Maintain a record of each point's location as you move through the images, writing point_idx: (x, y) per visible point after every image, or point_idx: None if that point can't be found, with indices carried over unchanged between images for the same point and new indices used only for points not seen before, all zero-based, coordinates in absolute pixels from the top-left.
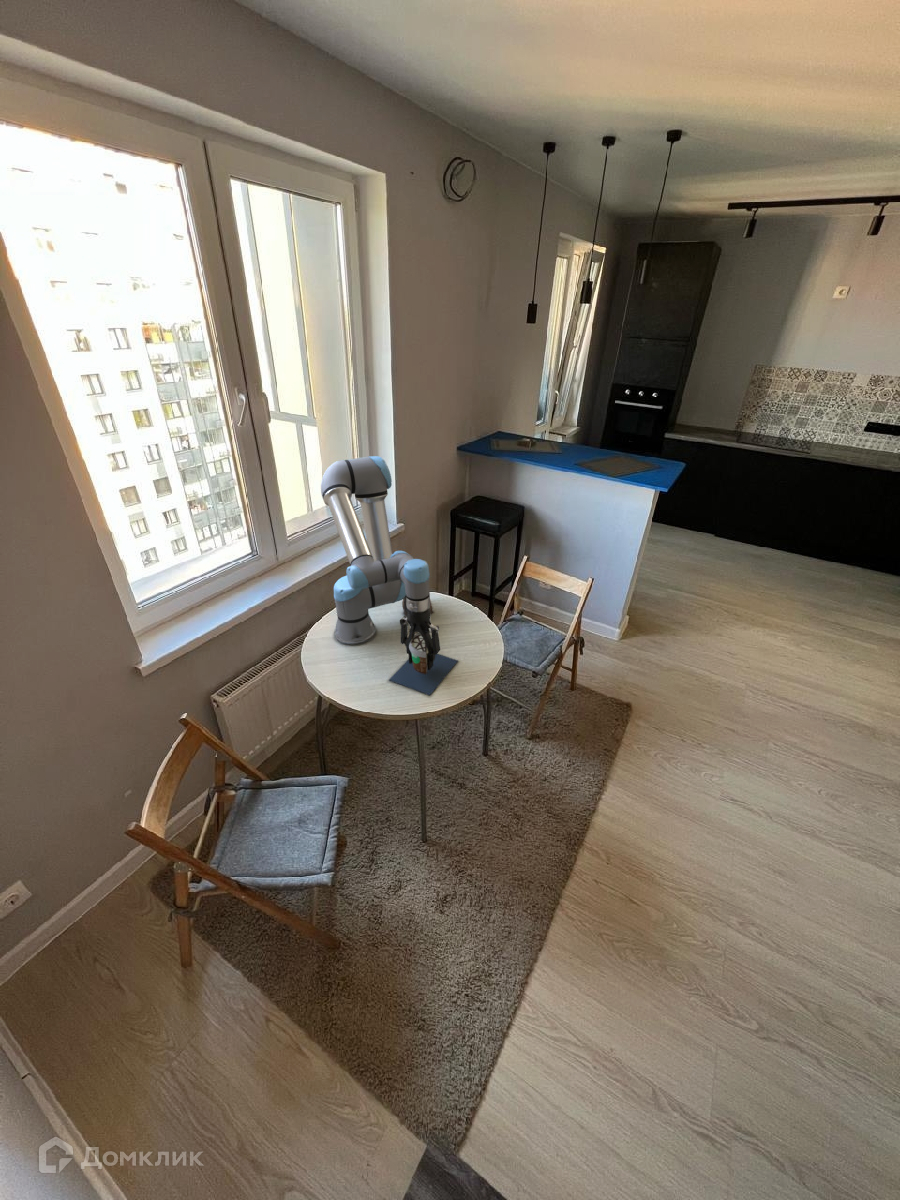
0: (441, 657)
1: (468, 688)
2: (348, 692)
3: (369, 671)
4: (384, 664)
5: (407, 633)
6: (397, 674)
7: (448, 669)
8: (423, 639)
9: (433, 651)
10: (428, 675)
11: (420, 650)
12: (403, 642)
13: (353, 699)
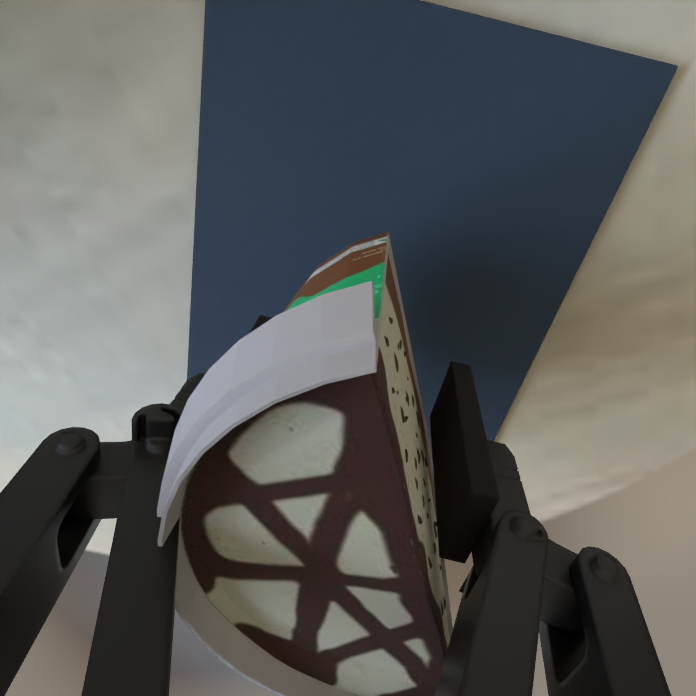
0: (490, 63)
1: None
2: None
3: (27, 360)
4: (63, 275)
5: (33, 551)
6: (208, 365)
7: (578, 233)
8: (339, 506)
9: (541, 640)
10: (422, 333)
11: (377, 664)
12: (95, 526)
13: (107, 539)
